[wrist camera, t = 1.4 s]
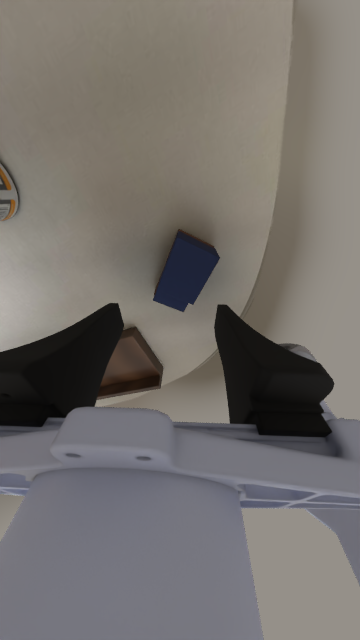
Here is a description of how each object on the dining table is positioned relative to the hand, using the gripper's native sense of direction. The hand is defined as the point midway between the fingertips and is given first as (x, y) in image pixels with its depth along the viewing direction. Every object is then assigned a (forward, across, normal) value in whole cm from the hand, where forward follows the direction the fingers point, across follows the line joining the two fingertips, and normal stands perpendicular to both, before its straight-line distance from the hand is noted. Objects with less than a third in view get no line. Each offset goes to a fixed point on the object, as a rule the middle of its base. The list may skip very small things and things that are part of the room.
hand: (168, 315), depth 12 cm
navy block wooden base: (+9, -1, 0) cm, 9 cm away
